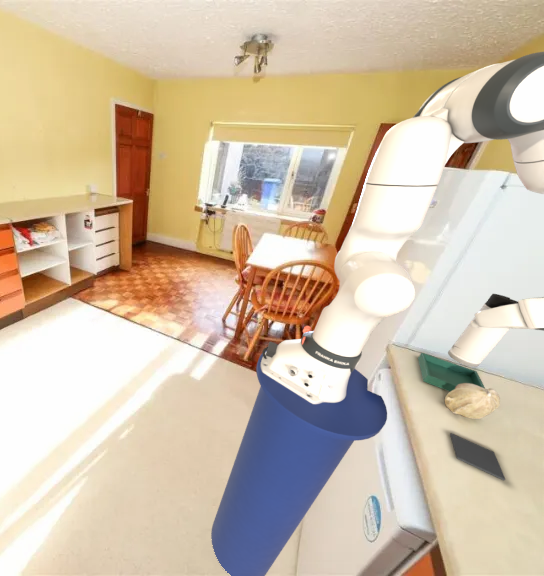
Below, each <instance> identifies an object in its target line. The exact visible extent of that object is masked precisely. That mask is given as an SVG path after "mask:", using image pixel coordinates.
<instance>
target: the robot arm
mask: <svg viewBox="0 0 544 576" xmlns="http://www.w3.org/2000/svg"><path fill="white" fill-rule="evenodd" d="M493 140H494V141H495V140H498V141H499V140H500V141H501V140H507V141H508V142H509V144H510V150H511V156H512V160H513V165H514V168H515V172H516V174H517V176H518V178H519V180H520V182H521V183H522V184H523V186H524V187H525V189H526V190H527V191H529V192H532V193H535V194H540V195H544V51H538V52H533V53H529V54H525V55H523V56H521V57H518V58H515V59H512V60H508V61H504V62H500V63H493V64H490V65H486V66H484V67H481V68H479V69H477V70H474V71H472V72H469V73H467V74H465V75H463V76H460V77H457V78H454V79H452V80H450V81H448V82H447V83H445V84H443V85H441V86H440V87H439V88H438V89H436V90H435V91H434V92H433V93H432V94H431V95H429V97H427V99H426V100H424V102H423V103H422V104H421V106H420V107H419V109H418V111H416V113H415V114H414V115H413V116H412V117H411V118H407V119H405V120H402V121H400V122H398V123H396V124H395V125H393V126H391V128H389V130H387V131H386V133H385V134H384V136H383V138H382V140H381V142H380V144H379V145H378V147H377V150H376V151H375V154H374V157H373V159H372V161H371V164H370V166H369V169H368V171H367V174H366V178H365V181H364V184H363V188H362V191H361V195H360V198H359V201H358V205H357V208H356V211H355V214H354V218H353V221H352V224H351V226H350V227H349V230H348V232H347V234H346V236H345V237H344V240H343V242H342V245H341V247H340V249H339V251H338V252H337V254H336V256H335V258H334V265H333V267H334V273H335V276H336V278H337V280H338V282H339V287H338V291H337V294H336V295H335V297H334V298H333V299H332V301H331V302H330V303H329V305H327V306H325V307H323V309H322V310H321V313H320V315H319V318H318V320H317V323H316V325H315V327H314V329H312V327H311V326H310V325H305V326H304V327H303V329H302V333H303V334H302V337H301V338H297V339H285V340H283V341H281V342H280V343H279V344H278V343H276V342H272V341H269V342H268V345H267V346H266V347H264V348H263V349H262V353H261V354H263V358H262V360H261V370H262V372H263V373H264V374H266V375H267V376H269V377H270V378H272V379H274V380H275V381H277V382H278V383H280V384H282V385H283V386H285V387H286V388H288V389H289V390H291V391H293V392H294V393H296V394H297V395H299V396H300V397H302V398H304V399H305V400H307V401H308V402H310V403H312V404H319V403H322V402H329V403H335V402H340V401H342V400H343V399H344V398H345V397H346V390H347V384H348V380H349V377H350V374H351V372H353V370H354V369H356V368H357V366H358V365H359V363H360V361H361V358H362V355H363V354H362V353H363V350H364V347H365V346H366V344H367V343H368V341H369V338H370V337H371V336H372V333H373V332H374V331H375V329H376V328H377V327H378V326H379V325H380V324H381V323H382V322H383V321H384V320H385V319H386V318H387V317H392V316H395V315H398V314H400V313H402V312H404V311H405V310H407V309H408V308H409V307H410V306H411V305H412V304H413V302H414V300H415V298H416V289H415V285H414V283H413V280H412V278H411V275H410V273H409V272H408V271H407V270H406V269H405V268H404V267H403V266H402V265H401V264H400V263H399V262H397V260H398V255H399V253H400V250H401V249H402V248H403V246H404V245H405V243H406V242H407V240H408V239H409V238H410V237H411V236H412V235H413V234H414V233H416V232H417V231H418V230H419V229H420V228H421V227H422V225H423V224H424V221H425V219H426V216H427V214H428V211H429V209H430V206H431V203H432V201H433V198H434V196H435V194H436V191H437V188H438V186H439V183H440V181H441V178H442V176H443V173H444V170H445V166H446V164H447V163H448V161H449V160H450V158H451V156H452V155H453V154H454V153H455V152H456V151H457V150H458V149H459V148H460V146H462V145H463V144H472V143H473V144H474V143H482V142H489V141H493ZM517 302H518V303H517V304H510V305H505V306H500V307H496V308H491V309H487V310H483V311H479V310H478V311H477V312H475V313H474V317H475V319H476V320H473V319H471V321H470V322H471V325H472V327H482V328H510V330H511V329H513V330H514V329H515V330H535V331H543V332H544V296H541V297H530V298H524V299H523V298H522V299H519V300H517ZM277 345H278V346H277ZM266 350H267V352H266V353H265V351H266Z"/></svg>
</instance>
